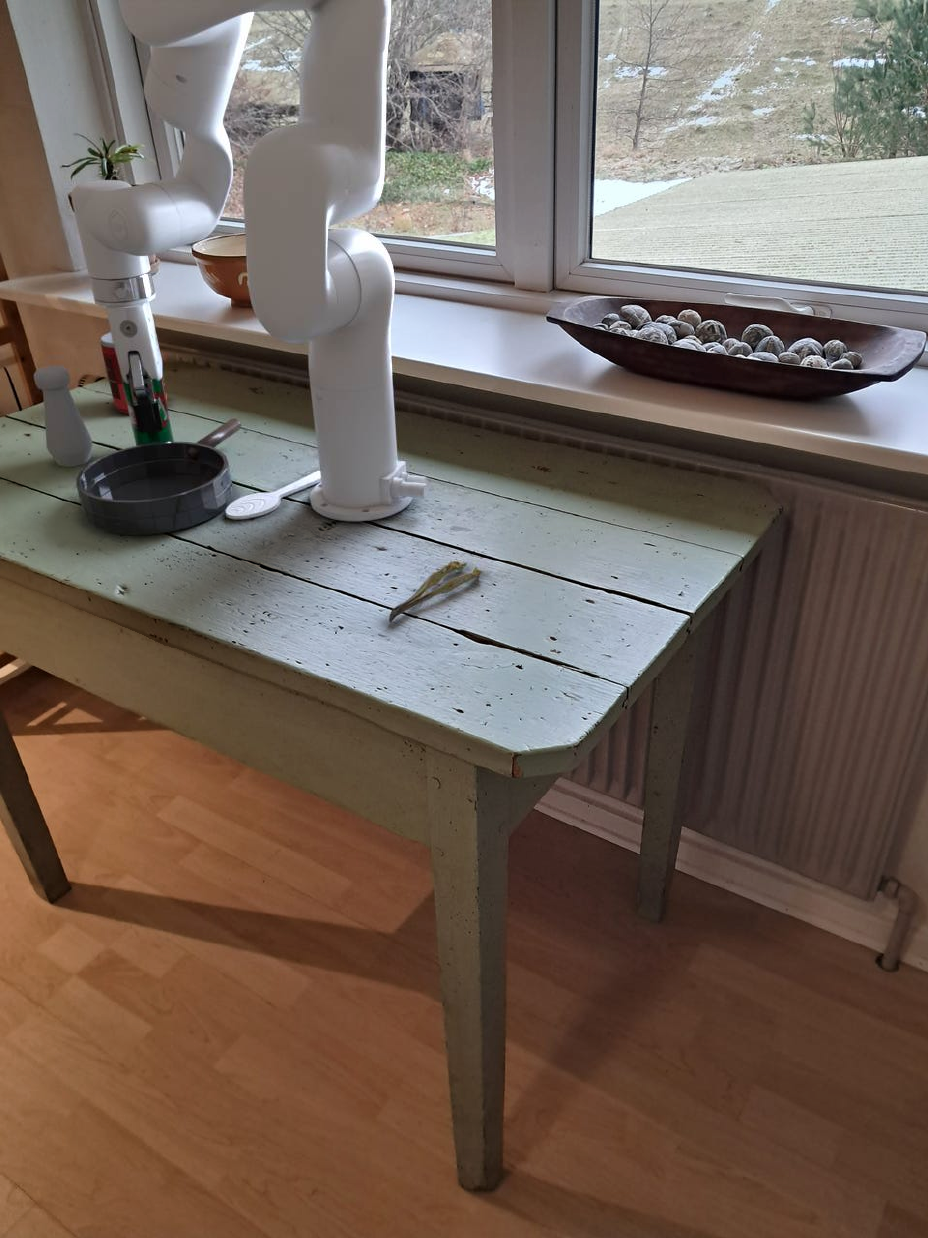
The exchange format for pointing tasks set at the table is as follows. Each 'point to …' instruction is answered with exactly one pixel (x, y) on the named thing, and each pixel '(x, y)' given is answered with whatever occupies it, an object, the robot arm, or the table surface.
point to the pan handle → (216, 436)
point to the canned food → (116, 373)
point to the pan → (154, 488)
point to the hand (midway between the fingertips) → (151, 422)
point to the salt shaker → (62, 418)
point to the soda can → (160, 397)
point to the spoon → (267, 499)
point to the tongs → (434, 581)
